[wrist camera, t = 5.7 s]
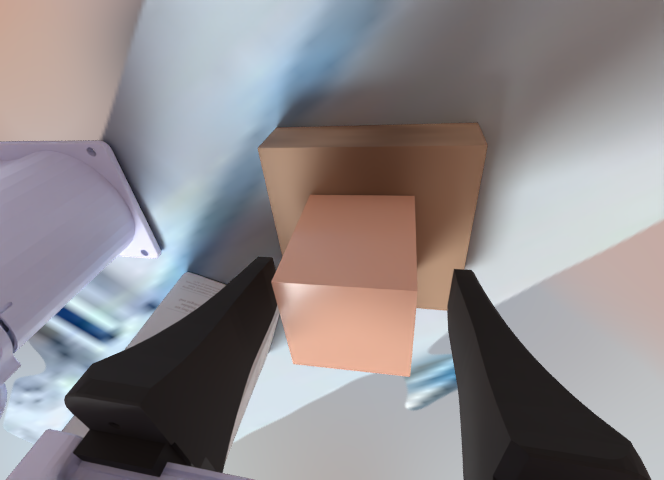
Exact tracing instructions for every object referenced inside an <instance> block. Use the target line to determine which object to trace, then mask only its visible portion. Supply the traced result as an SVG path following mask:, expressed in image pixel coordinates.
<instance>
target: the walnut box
mask: <svg viewBox="0 0 664 480" xmlns="http://www.w3.org/2000/svg"><path fill="white" fill-rule="evenodd" d="M487 147H488V145H487V142H486V140H485V138H484V136H483V133H482V131H481V129H480V126H479V124H478V123H441V124H401V125H361V126H320V127H280V128H276V129H275V130H274V131H273V132H272V133H271V134H270V135H269V136H268V137H267V138H266V140H265V141H264V142H263V143H262V144H261V145H260V146H259V147H258V152H259V156H260V161H261V165H262V169H263V174H264V178H265V183H266V187H267V191H268V196H269V200H270V205H271V209H272V213H273V218H274V222H275V227H276V231H277V235H278V240H279V244H280V249H281V253H282V257H283V254H284V252H285V250H286V248H287V246H288V243H289V241H290V239H291V237H292V234H293V232H294V230H295V228H296V225H297V223H298V221H299V219H300V216H301V214H302V212H303V210H304V207H305V205H306V203H307V201H308V198H309V196H310V195H388V196H415V222H416V255H417V287H418V293H417V304H416V308H422V309H435V310H447V305H448V299H449V294H450V288H451V282H452V277H453V271H454V269H463V270H464V267H465V261H466V256H467V251H468V246H469V241H470V235H471V230H472V225H473V220H474V214H475V209H476V204H477V199H478V194H479V188H480V183H481V178H482V173H483V167H484V162H485V157H486V152H487Z"/></svg>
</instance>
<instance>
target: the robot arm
mask: <svg viewBox="0 0 664 480" xmlns="http://www.w3.org/2000/svg"><path fill="white" fill-rule="evenodd" d="M93 149H94V150H93ZM94 151H95V152H94ZM160 255H161V250H160V247H159V245H158V243H157V241H156V239H155V237H154V235H153V233H152V231H151V229H150V227H149V225H148V223H147V221H146V219H145V217H144V215H143V213H142V211H141V209H140V206H139V204H138V202H137V200H136V198H135V196H134V194H133V192H132V190H131V188H130V186H129V184H128V182H127V180H126V178H125V176H124V174H123V172H122V170H121V168H120V165H119V163H118V161H117V159H116V157H115V155H114V153H113V151H112V149H111V148H110V146H109V145H108V144H107V143H105V142H103V141H99V140H98V141H12V142H10V141H9V142H0V418H1V416H2V414H3V411H4V409H5V406H6V402H7V390H6V386H5V384H4V382H5V381H6V380H7V379H8V378H9V377H10V376H11V375H12V374H13V373H14V372H15V371H16V370H17V369H18V368H19V367H20V366H21V364H20V363H19V362H18V361H17V359H16V358H15V357H14V355H13V353H15V352H16V351H17V350H18V349H19V348H20V347H21V346H22V345H23V344H24V343H25V342H26V341H27V340H29V339H30V338H31V337H32V336H33V335H34V334H35V333H36V332H37V331H38V330H39V329H40V328H41V327H42V326H43V325H45V324H46V323H47V322H48V321H49V320H50V319H51V318H52V317H53V316H54V315H55V314H56V313H57V312H58V311H59V310H61V309H62V308H63V307H64V306H65V305H66V304H67V303H68V302H69V301H70V300H71V299H72V298H73V297H74V296H75V295H77V294H78V293H79V292H80V291H81V290H82V289H83V288H84V287H85V286H86V285H87V284H88V283H89V282H90V281H91V280H93V279H94V278H95V277H96V276H97V275H98V274H99V273H100V272H101V271H102V270H103V269H104V268H105V267H106V266H107V265H109V264H110V263H111V262H112V261H113V260H114V259H115V258H116V257H117V256H123V257H138V258H152V259H156V258H158V257H159V256H160ZM275 272H276V270H275V266H274V262H273V258H272V257H258V258H257V259H255V260H254V261H253V262H252V263H251V264H250V265H249V266H248V267H246V268H245V269H244V270H243V271H242V272H241V273H240V274H239V275H238V276H236V277H235V278H234V279H233V280H232V281H231V282H230V283H228V284H227V285H226V286H225V287H224V288H223V289H221V290H220V291H219V292H218V293H216V294H215V295H214V296H213V297H211V298H210V299H209V300H208V301H206V302H205V303H204V304H203V305H201V306H200V307H198V308H197V309H196V310H194V311H193V312H191V313H190V314H188V315H187V316H185V317H184V318H182V319H181V320H179V321H178V322H176V323H174V324H173V325H171V326H169V327H168V328H166V329H164V330H162V331H161V332H159V333H157V334H156V335H154V336H152V337H150V338H148V339H146V340H144V341H142V342H140V343H138V344H136V345H134V346H132V347H130V348H128V349H126V350H124V351H122V352H119V353H117V354H115V355H112V356H110V357H108V358H105V359H103V360H101V361H98V362H96V363H93V364H92V365H91V366H90V367H89V368H88V370H87V371H86V372H85V373H84V374H83V376H82V377H81V378H80V379H79V380H78V382H77V383H76V384H75V385H74V386H73V387H72V389H71V390H70V391H69V392H68V393H67V395H66V396H65V399H64V401H65V405H66V407H67V408H68V409H69V410H70V411H71V412H72V413H73V414H74V415H75V416H76V417H77V418H78V419H79V420H80V421H81V422H82V423H83V424H84V425H86V426H87V427H88V428H89V429H90V430H89V431H88V432H87V434H86V435H85V437H84V438H82V437H80V436H78V435H75V434H72V433H67V432H62V431H57V430H51V429H48V430H46V431H45V432H44V433H43V435H42V436H41V437H40V438H39V439H38V441H37V442H36V443H35V444H34V446H33V447H32V448H31V450H30V451H29V452H28V453H27V454H26V456H25V457H24V458H23V459H22V460H21V462H20V463H19V464H18V465H17V467H16V468H15V469H14V470H13V471H12V473H11V474H10V475H9V476H8V478H7V479H6V480H254V479H249V478H244V477H239V476H234V475H229V474H225V473H223V469H224V464H225V460H226V456H227V452H228V447H229V443H230V439H231V435H232V432H233V428H234V424H235V420H236V417H237V413H238V410H239V406H240V403H241V400H242V396H243V393H244V390H245V386H246V383H247V380H248V377H249V374H250V371H251V368H252V366H253V363H254V361H255V358H256V356H257V354H258V351H259V349H260V347H261V345H262V342H263V340H264V338H265V335H266V333H267V331H268V329H269V326H270V324H271V322H272V319H273V317H274V315H275V311H276V308H277V301H276V298H275V294H274V290H273V287H272V283H271V281H272V279H273V277H274V275H275ZM447 313H448V332H449V338H450V344H451V350H452V356H453V362H454V368H455V374H456V380H457V386H458V394H459V405H460V420H461V436H462V454H463V476H464V480H651V478H650V476H649V474H648V472H647V470H646V468H645V466H644V464H643V462H642V460H641V458H640V457H639V455H638V453H637V452H636V450H635V449H634V447H633V445H632V443H631V442H630V441H629V440H628V439H627V438H625V437H624V436H623V435H621V434H620V433H619V432H617V431H616V430H615V429H614V428H612V427H611V426H610V425H608V424H607V423H606V422H604V421H603V420H602V419H601V418H599V417H598V416H597V415H595V414H594V413H593V412H592V411H591V410H589V409H588V408H587V407H586V406H585V405H583V404H582V403H581V402H580V401H579V400H578V399H576V398H575V397H574V396H573V395H572V394H571V393H570V392H569V391H567V390H566V389H565V388H564V387H563V386H562V385H561V384H560V383H559V382H558V381H557V380H556V379H555V378H554V377H552V375H551V374H550V373H549V372H548V371H547V370H546V369H545V368H544V367H543V366H542V365H541V364H540V363H539V362H538V361H537V360H536V359H535V358H534V357H533V356H532V354H531V353H530V352H529V351H528V350H527V349H526V348H525V347H524V345H523V344H522V343H521V342H520V341H519V339H518V338H517V337H516V336H515V334H514V333H513V332H512V331H511V329H510V328H509V327H508V325H507V324H506V323H505V321H504V320H503V319H502V317H501V316H500V314H499V313H498V311H497V310H496V309H495V307H494V306H493V304H492V303H491V301H490V300H489V298H488V297H487V295H486V293H485V292H484V290H483V288H482V287H481V285H480V283H479V281H478V280H477V278H476V276H475V274H474V272H473V271H472V270H463V269H454V271H453V277H452V282H451V288H450V294H449V299H448V305H447Z"/></svg>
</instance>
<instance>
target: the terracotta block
mask: <svg viewBox="0 0 664 480" xmlns="http://www.w3.org/2000/svg"><path fill="white" fill-rule="evenodd" d="M271 283H272V287H273V290H274V294H275V298H276V301H277V305H278V309H279V312H280V316H281V320H282V323H283V327H284V331H285V335H286V338H287V342H288V346H289V349H290V353H291V357H292V360H293V364H299V365H308V366H317V367H326V368H335V369H344V370H353V371H362V372H371V373H381V374H390V375H399V376H408V377H410V371H411V360H412V348H413V337H414V326H415V315H416V304H417V293H418V287H417V255H416V222H415V196H388V195H310V196H309V198H308V201H307V203H306V205H305V207H304V210H303V212H302V214H301V216H300V219H299V221H298V223H297V225H296V228H295V230H294V232H293V234H292V237H291V239H290V241H289V243H288V246H287V248H286V250H285V252H284V254H283V257H282V259H281V261H280V263H279V266H278V268H277V270H276V272H275V275H274V277H273V279H272V281H271Z"/></svg>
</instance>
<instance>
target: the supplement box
mask: <svg viewBox="0 0 664 480" xmlns="http://www.w3.org/2000/svg"><path fill="white" fill-rule="evenodd" d="M225 286H226V285H225V284H222V283H219V282H216V281H214V280H211V279H208V278H205V277H202V276H199V275H197V274H193V273H190V272H186V273H184V274H183V275H182V277H181V278H180V279H179V280H178V282H177V283H176V284H175V285H174V287H173V288H172V289H171V290H170V292H169V293H168V294H167V296H166V297H165V298H164V299H163V301H162V302H161V304H160V305H159V306H158V307H157V309H156V310H155V311H154V313H153V314H152V315H151V316H150V318H149V319H148V320H147V322H146V323H145V324H144V325H143V327H142V328H141V329H140V331H139V332H138V333H137V335H136V336H135V337H134V338H133V340H132V341H131V342H130V344H129V345H128V346H127V347H126V349H128V348H130V347H132V346H134V345H136V344H138V343H140V342H142V341H144V340H146V339H148V338H150V337H152V336H154V335H156V334H157V333H159V332H161V331H162V330H164V329H166V328H168V327H169V326H171V325H173V324H174V323H176V322H178V321H179V320H181V319H182V318H184V317H185V316H187V315H188V314H190V313H191V312H193V311H194V310H196V309H197V308H198V307H200V306H201V305H203V304H204V303H205V302H206V301H208V300H209V299H210V298H211V297H213V296H214V295H215V294H216V293H218V292H219V291H220V290H221V289H223V288H224V287H225ZM279 314H280V312H279V309H278V305H277V308H276V311H275V315H274V317H273V319H272V322H271V324H270V326H269V329H268V331H267V333H266V335H265V338H264V340H263V342H262V345H261V347H260V349H259V351H258V354H257V356H256V358H255V361H254V363H253V366H252V368H251V371H250V374H249V377H248V380H247V383H246V386H245V390H244V393H243V396H242V400H241V403H240V406H239V410H238V413H237V417H236V420H235V424H234V428H233V432H232V435H231V439H230V443H229V447H228V452H227V456H228V453H229V451H230V448H231V446H232V443H233V441H234V438H235V436H236V433H237V431H238V428H239V425H240V423H241V420H242V418H243V415H244V413H245V410H246V407H247V405H248V402H249V400H250V397H251V395H252V392H253V390H254V387H255V385H256V382H257V380H258V377H259V375H260V372H261V370H262V367H263V365H264V362H265V360H266V357H267V354H268V352H269V349H270V346H271V342H272V339H273V335H274V332H275V328H276V325H277V321H278V318H279ZM126 349H125V350H126ZM89 430H90V429H89V428H88V427H87V426H86V425H84V424H83V423H82V422H81V421H80V420H79V419H78V418H77V417H76V416H75V415H74V416H73V417H72V419H71V420H70V421H69V423H68V424H67V425H66V426H65V428H64V429H63V430H62V432H67V433H72V434H75V435H78V436H80V437H82V438H84V437H85V435H86V434H87V432H88V431H89ZM227 456H226V459H227ZM225 461H226V460H225Z"/></svg>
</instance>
